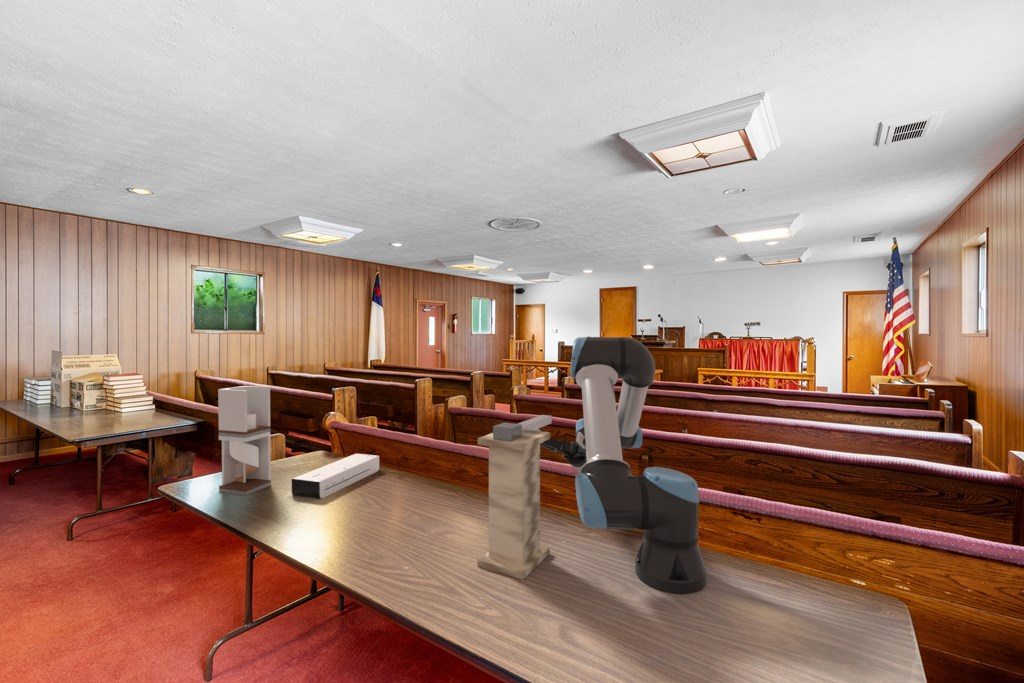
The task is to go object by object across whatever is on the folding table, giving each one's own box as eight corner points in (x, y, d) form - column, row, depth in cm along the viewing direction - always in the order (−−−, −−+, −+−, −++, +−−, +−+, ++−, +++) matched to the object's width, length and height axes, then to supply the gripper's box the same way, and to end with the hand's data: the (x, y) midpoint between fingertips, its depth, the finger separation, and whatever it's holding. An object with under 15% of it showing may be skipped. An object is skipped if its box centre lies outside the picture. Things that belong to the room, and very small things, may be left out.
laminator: (319, 500, 152) (319, 481, 151) (288, 496, 155) (288, 478, 155) (379, 471, 184) (379, 455, 184) (353, 468, 188) (353, 453, 188)
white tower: (219, 491, 159) (218, 389, 158) (245, 482, 169) (244, 385, 168) (245, 495, 155) (244, 390, 155) (270, 485, 166) (270, 387, 165)
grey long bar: (538, 421, 128) (539, 410, 128) (554, 423, 126) (555, 412, 126) (493, 439, 107) (493, 426, 107) (511, 441, 105) (511, 428, 105)
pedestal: (507, 542, 121) (507, 427, 120) (549, 553, 115) (550, 432, 114) (477, 566, 109) (477, 438, 108) (522, 579, 103) (523, 444, 102)
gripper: (615, 473, 141) (595, 452, 124) (541, 462, 153) (514, 441, 137) (619, 449, 144) (600, 425, 128) (546, 440, 156) (520, 417, 140)
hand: (555, 433), depth 132 cm, fingers open, 13 cm apart
